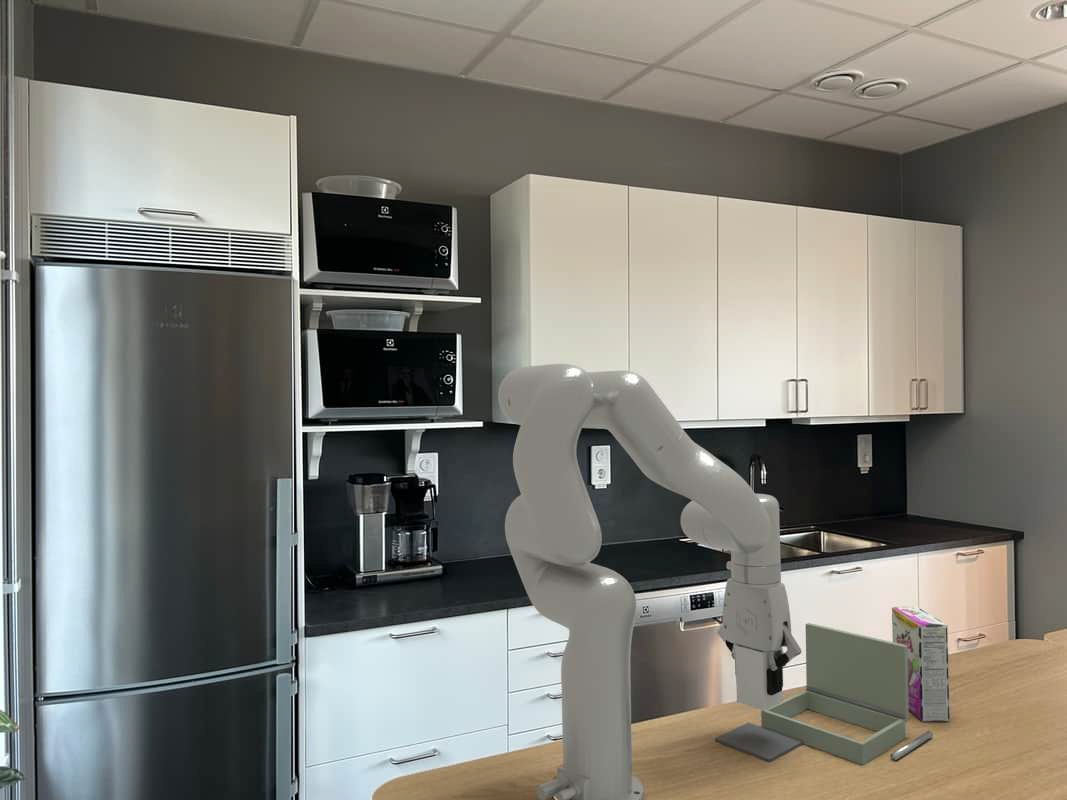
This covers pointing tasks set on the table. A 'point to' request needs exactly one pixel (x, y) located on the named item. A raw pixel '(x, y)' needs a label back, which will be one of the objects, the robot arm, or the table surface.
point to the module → (753, 679)
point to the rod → (911, 745)
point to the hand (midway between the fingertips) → (759, 686)
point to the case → (848, 693)
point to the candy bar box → (924, 662)
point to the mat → (759, 741)
